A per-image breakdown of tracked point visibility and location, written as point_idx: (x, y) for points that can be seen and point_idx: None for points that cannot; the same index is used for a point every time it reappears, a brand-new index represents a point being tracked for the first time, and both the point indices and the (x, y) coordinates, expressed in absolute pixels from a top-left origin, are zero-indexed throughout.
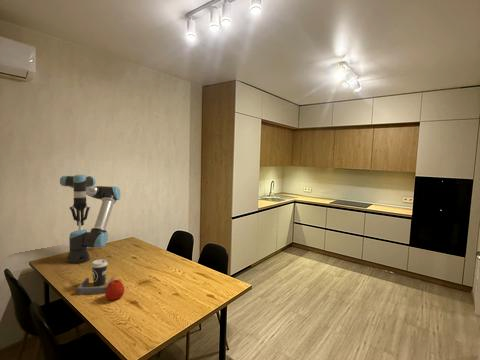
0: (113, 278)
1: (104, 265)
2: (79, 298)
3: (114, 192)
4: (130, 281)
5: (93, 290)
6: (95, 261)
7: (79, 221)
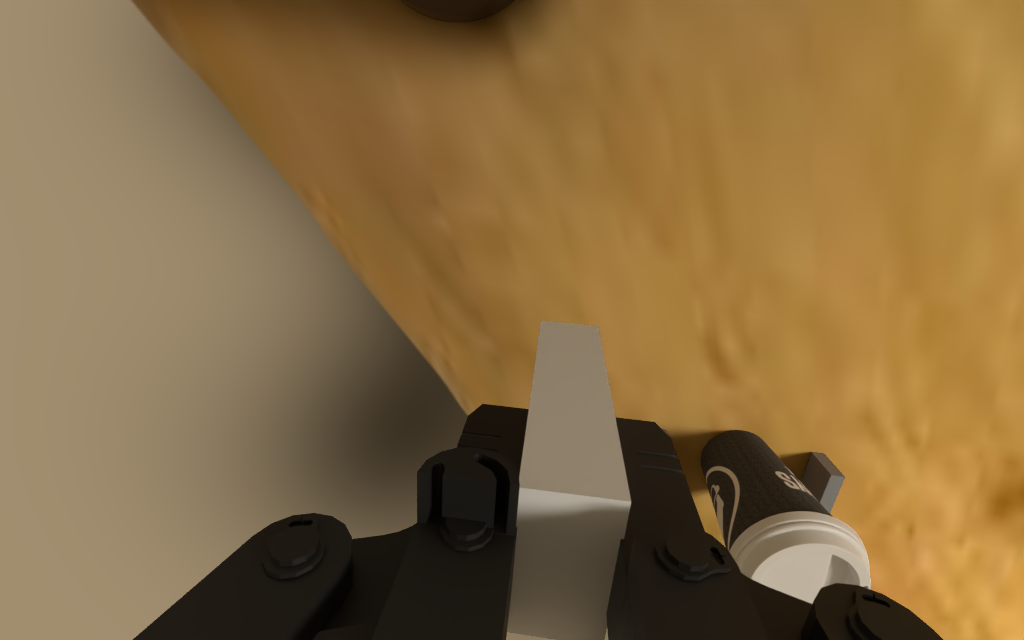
0: (838, 473)
1: None
2: None
3: None
4: (939, 466)
5: None
6: (770, 566)
7: (550, 635)
